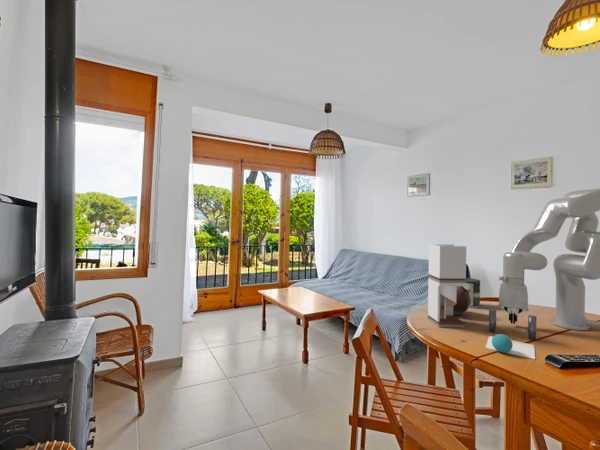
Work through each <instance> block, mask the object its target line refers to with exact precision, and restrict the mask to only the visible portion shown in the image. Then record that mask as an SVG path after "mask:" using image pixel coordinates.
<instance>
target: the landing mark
mask: <svg viewBox="0 0 600 450" xmlns="http://www.w3.org/2000/svg"><path fill="white" fill-rule="evenodd" d="M493 337H494V336H492V335H489V336H488V338H487V342H486V344H485V349H488V350H492V351H496V352H499V351H498V350H496V349H495V348H494V347H493V345H492V338H493ZM511 341H512V344H513V346H512V349H511V350H510V351H509V352H505V353H506V354H510V355H514V356H518V357H524V358H528V359H532V360H536V354H535V353H536V351H535V344H530V343H526V342H521V341H516V340H512V339H511Z"/></svg>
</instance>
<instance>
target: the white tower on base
mask: <svg viewBox="0 0 600 450" xmlns="http://www.w3.org/2000/svg"><path fill="white" fill-rule="evenodd" d="M466 278H467V246H466V245H465V246H463V245H461V246H460V245H458V246H457V245H455V244H451V243H449V244H448V243H447V244H443V243H441V244H435V243H433V244H430V243H429V244H428V278H427V279H428V287H427V288H428V289H427V290H428V291H427V292H428V293H427V297H428V298H427V320H428V321H430V322H431V323H432V322H433V323H432V324H434V325H435V326H436V325H437V326H436V327H438V328H466V322H465V321H463V320H461V319H460V318H458V317H457V316H454V315H453V305H456V295H457V287H456V286H466Z"/></svg>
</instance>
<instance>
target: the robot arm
mask: <svg viewBox="0 0 600 450" xmlns="http://www.w3.org/2000/svg"><path fill="white" fill-rule="evenodd" d="M599 211H600V188H593V189H583V190H582V189H581V190H573V191H569V192H567V193H566V194H565V195H564V197H563V198H555V199H552V200H549V201H547V203H546V204H545V206H544V208H543V210H542V211H541V213H540V216H539V217H538V219H537V222H536V223H535V225H534V227H533V228H532V229H531V230H530V231H528V232H527V233H525V234H524V235H523V236H522V237H521V238H519V240H518V241H517V242H516V243H515V245H514V247H513V249H512V251H510V252H505V253H504V254H503V255H502V256H503V263H502V268H503V269H502V272H503V273H502V276H499V277H498V280H499V281H502V282H501V283H500V284H499V285H500V286H499V291H498V292H499V293H498V295H499V296H498V308H500V309H503V310H505V311H506V312H507V314H508V321H509V322H510V324H514V325H515V324H516V323H517V322H518V315H519V314H520V313H522V312H525V313H526V312H527V313H528V312H529V297H528V296H529V295H528V287H527V285H526V284H525V270H530V271H541V270H544V269H546V267H547V266H548V258H547V257H546V256H544V255H543V254H541V253H538V252H533V251H532V250H533V248H535V247H536V246H537V245H539V244H542V243H544V242H546V241H549V240H551V239H554V238H556V237H557V236H558V235H559V234H560V231H561V228H562V227H563V225H564V223H565V221H566V219H571V223H570V227H569V229H568V233H567V235H566V238H565V240H564V241H565V243H564V245H565V248H566V249H567V250H569V251H570V252H574V253H575V252H576V253H580V254H573V253H563V254H562V253H561V254H559V255H557V256H556V257H555V258H554V260H553V262H552V263H553V265H552V266H553V270H554V275H555V317H554V318H551V319H550V323H551V324H553V325H554V326H557V327H561V328H563V329H568V330H574V331H590V326H593V327H600V321H595V320H592V319H587V317H586V316H585V312H586V311H585V310H586V309H585V307H586V285H585V282H584V280H583V279H586V280H591V281H592V280H593V281H594V280H600V231H597V229H598V226H599V219H598V216H597V214H596V212H599ZM531 251H532V252H531ZM581 254H585V255H581ZM512 309H515V310H514V311H512Z"/></svg>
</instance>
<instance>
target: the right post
mask: <svg viewBox="0 0 600 450" xmlns="http://www.w3.org/2000/svg"><path fill="white" fill-rule="evenodd" d="M527 318H528V321H527V323H528V325H527V326H528V327H527V339H528V340H530V341H537V322H538V321H537V320H538V319H537V316H535V315H533V314H531V315H530V314H528V316H527Z"/></svg>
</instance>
